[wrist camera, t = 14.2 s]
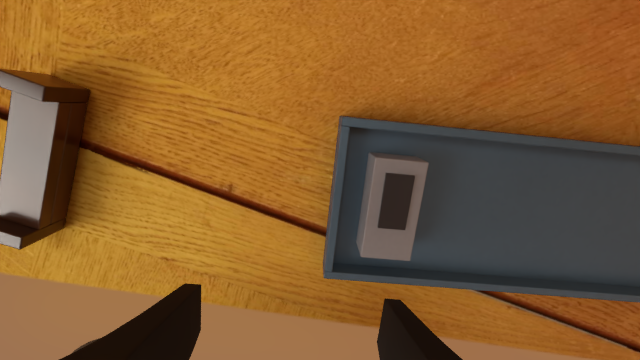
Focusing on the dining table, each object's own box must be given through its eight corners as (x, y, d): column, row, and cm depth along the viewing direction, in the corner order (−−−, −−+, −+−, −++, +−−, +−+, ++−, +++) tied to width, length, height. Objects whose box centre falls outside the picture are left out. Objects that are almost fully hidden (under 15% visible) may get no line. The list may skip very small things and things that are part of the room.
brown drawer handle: (64, 228, 19) (20, 250, 16) (26, 216, 19) (-27, 236, 16) (90, 89, 17) (45, 86, 14) (47, 74, 17) (-8, 67, 14)
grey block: (400, 246, 19) (411, 263, 17) (355, 242, 19) (361, 258, 17) (417, 156, 18) (430, 162, 16) (368, 151, 18) (375, 157, 16)
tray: (679, 292, 21) (710, 308, 20) (322, 264, 20) (323, 278, 19) (740, 156, 19) (781, 161, 17) (339, 115, 18) (342, 116, 16)
